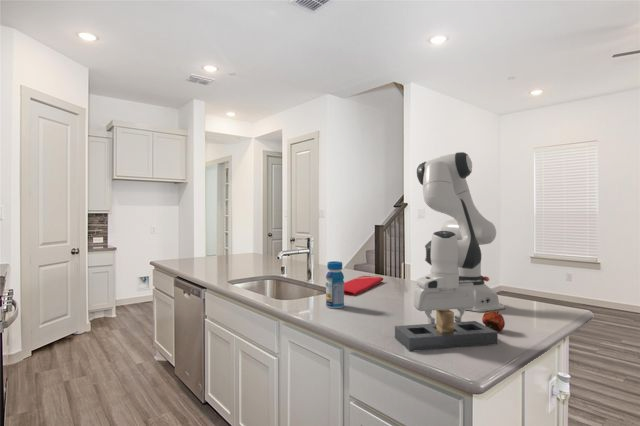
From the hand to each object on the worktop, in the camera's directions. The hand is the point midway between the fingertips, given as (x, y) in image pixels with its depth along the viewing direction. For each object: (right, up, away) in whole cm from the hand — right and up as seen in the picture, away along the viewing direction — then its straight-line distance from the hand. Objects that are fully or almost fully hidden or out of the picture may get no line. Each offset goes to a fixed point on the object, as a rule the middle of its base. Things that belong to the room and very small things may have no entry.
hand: (444, 322), depth 120 cm
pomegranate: (+21, -6, +10) cm, 24 cm away
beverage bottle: (-34, -6, +45) cm, 57 cm away
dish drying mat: (-20, -7, +86) cm, 88 cm away
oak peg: (0, -6, 0) cm, 6 cm away
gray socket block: (0, -6, 0) cm, 6 cm away
